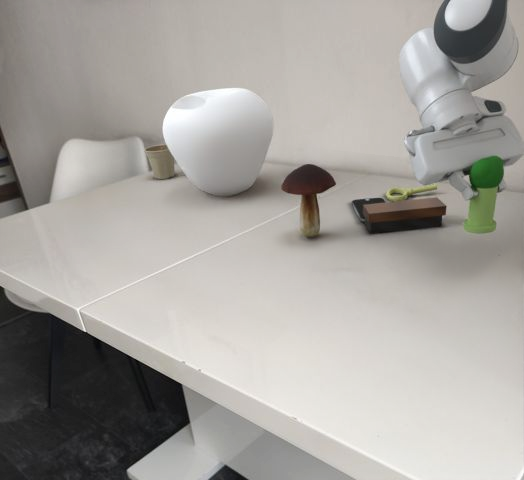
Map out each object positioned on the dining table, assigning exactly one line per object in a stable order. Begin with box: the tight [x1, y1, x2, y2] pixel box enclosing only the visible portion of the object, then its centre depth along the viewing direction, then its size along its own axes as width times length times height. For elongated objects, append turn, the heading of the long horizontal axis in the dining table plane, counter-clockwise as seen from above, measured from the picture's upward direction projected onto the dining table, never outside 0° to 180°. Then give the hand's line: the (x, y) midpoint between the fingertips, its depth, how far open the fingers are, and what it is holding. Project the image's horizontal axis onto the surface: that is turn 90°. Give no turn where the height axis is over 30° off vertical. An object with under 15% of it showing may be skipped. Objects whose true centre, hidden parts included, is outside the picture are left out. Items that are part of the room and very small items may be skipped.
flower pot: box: [143, 143, 176, 180], centre depth 164 cm, size 9×9×9 cm
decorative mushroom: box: [280, 163, 337, 239], centre depth 110 cm, size 11×11×15 cm
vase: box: [162, 87, 274, 197], centre depth 141 cm, size 28×27×25 cm
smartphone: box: [351, 197, 386, 224], centre depth 124 cm, size 8×1×15 cm
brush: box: [363, 196, 448, 234], centre depth 114 cm, size 16×6×4 cm, turn 93°
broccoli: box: [462, 156, 505, 235], centre depth 88 cm, size 6×5×12 cm
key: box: [385, 183, 438, 202], centre depth 131 cm, size 7×12×2 cm, turn 110°
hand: (486, 194), depth 88 cm, fingers closed on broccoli, 4 cm apart
